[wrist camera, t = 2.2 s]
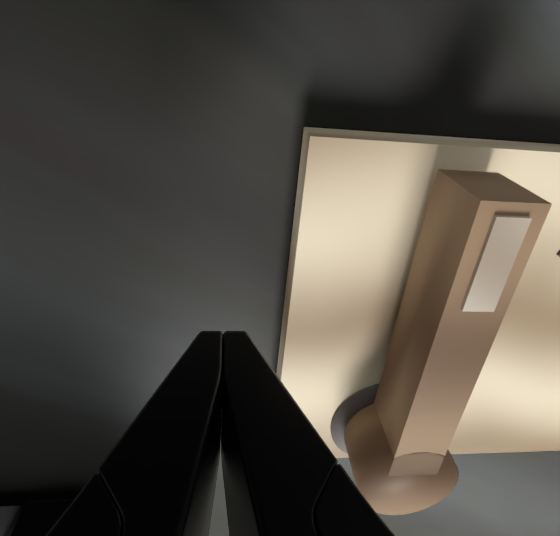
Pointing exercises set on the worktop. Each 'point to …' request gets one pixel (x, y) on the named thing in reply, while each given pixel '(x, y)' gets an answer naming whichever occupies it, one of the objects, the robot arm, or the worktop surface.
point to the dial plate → (393, 278)
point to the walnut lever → (442, 336)
